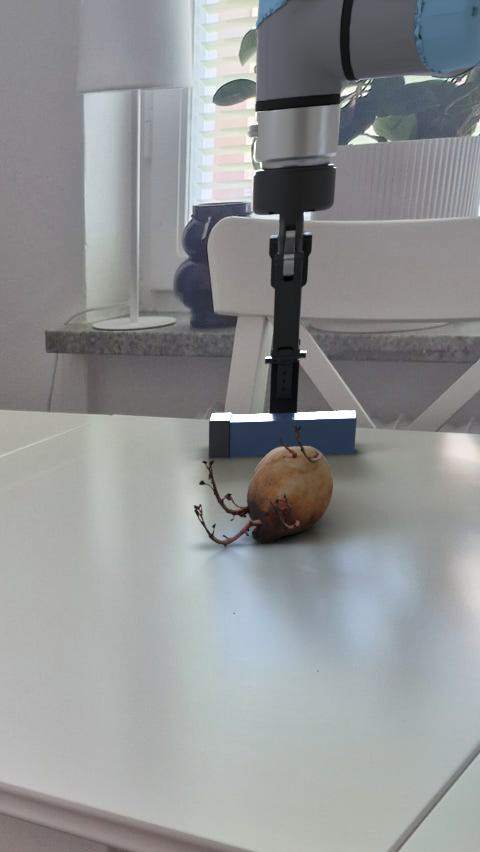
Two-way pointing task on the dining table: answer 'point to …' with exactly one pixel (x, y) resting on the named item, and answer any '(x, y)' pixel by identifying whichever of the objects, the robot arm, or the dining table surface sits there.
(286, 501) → the vegetable
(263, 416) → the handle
